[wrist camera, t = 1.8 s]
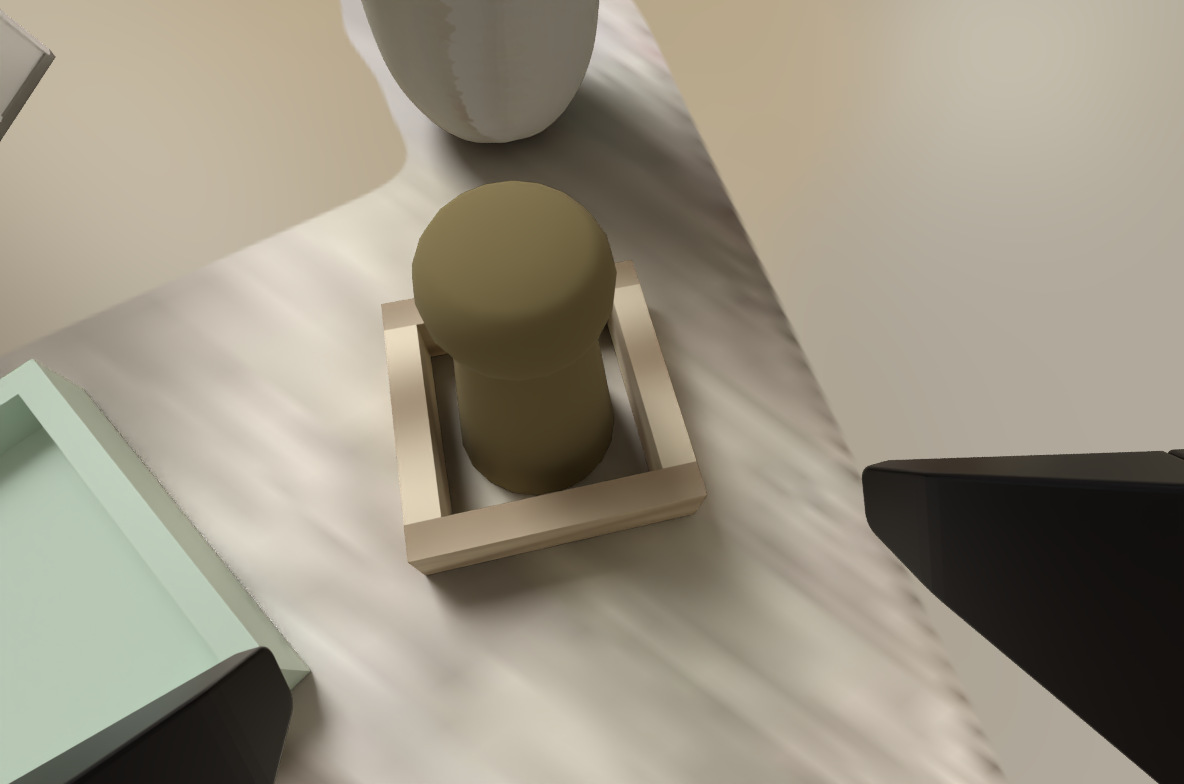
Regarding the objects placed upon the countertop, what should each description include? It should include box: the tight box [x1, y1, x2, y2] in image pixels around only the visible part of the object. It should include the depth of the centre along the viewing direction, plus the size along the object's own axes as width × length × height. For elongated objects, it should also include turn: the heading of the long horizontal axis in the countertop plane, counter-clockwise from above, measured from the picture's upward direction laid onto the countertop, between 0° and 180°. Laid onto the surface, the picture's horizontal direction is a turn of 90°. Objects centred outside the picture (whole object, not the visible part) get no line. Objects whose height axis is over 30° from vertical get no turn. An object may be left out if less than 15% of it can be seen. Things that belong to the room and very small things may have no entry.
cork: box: [412, 181, 617, 495], centre depth 19 cm, size 6×6×11 cm
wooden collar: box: [381, 260, 707, 575], centre depth 23 cm, size 10×10×2 cm
